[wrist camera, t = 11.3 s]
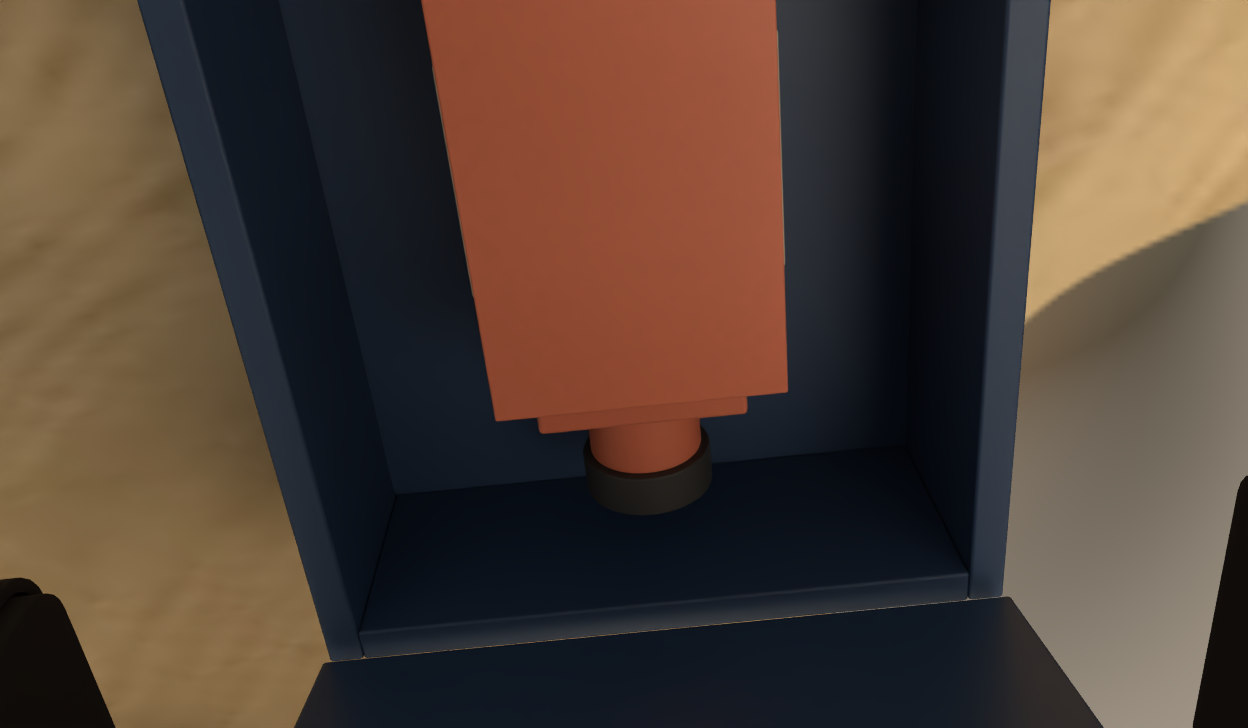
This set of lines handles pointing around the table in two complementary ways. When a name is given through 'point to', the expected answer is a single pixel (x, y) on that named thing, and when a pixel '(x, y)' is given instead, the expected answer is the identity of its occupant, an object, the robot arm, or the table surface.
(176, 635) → the table surface
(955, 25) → the dark blue open box
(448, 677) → the lid
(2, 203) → the table surface
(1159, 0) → the table surface
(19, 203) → the table surface
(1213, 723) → the robot arm
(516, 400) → the orange juice carton
